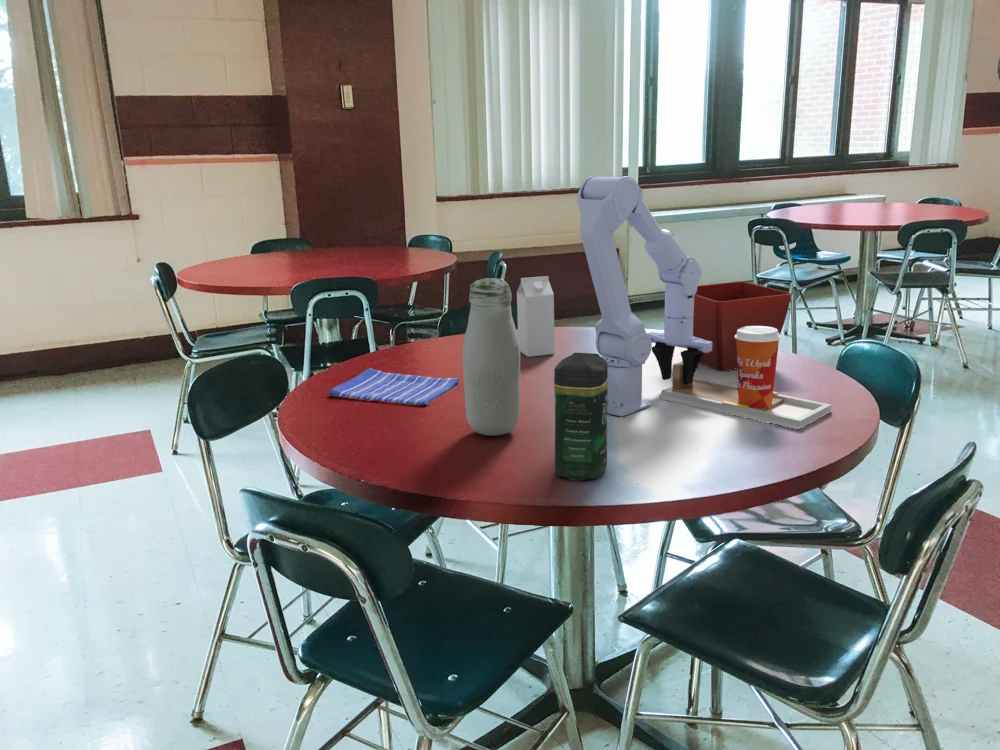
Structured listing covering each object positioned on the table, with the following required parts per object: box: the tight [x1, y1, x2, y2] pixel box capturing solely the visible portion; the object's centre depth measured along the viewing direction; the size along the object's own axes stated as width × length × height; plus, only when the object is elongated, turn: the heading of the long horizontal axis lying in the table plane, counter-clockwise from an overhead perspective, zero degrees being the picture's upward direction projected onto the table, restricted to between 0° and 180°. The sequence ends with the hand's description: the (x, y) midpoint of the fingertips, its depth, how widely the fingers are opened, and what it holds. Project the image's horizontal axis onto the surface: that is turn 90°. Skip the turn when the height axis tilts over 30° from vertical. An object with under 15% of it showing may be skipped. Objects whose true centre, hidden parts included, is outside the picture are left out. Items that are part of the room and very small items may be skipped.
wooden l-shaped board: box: [664, 361, 783, 411], centre depth 159 cm, size 9×21×6 cm, turn 44°
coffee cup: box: [735, 326, 783, 411], centre depth 152 cm, size 8×8×15 cm
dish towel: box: [328, 367, 460, 406], centre depth 174 cm, size 17×24×3 cm
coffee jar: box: [553, 352, 608, 482], centre depth 125 cm, size 10×8×19 cm
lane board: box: [660, 377, 833, 430], centre depth 156 cm, size 13×29×2 cm, turn 44°
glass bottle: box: [462, 277, 521, 437], centre depth 142 cm, size 10×10×28 cm
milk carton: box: [516, 275, 556, 358], centre depth 199 cm, size 7×7×19 cm
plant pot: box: [693, 281, 792, 372], centre depth 185 cm, size 19×19×17 cm
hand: (677, 381), depth 166 cm, fingers open, 5 cm apart
